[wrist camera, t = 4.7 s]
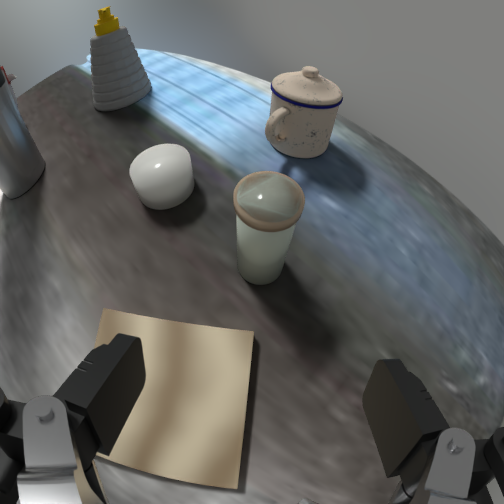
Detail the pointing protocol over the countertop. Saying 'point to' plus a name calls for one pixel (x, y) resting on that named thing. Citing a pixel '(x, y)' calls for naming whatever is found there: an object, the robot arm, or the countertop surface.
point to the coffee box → (307, 501)
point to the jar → (265, 223)
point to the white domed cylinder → (163, 176)
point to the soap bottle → (115, 66)
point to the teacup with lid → (302, 113)
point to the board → (184, 399)
